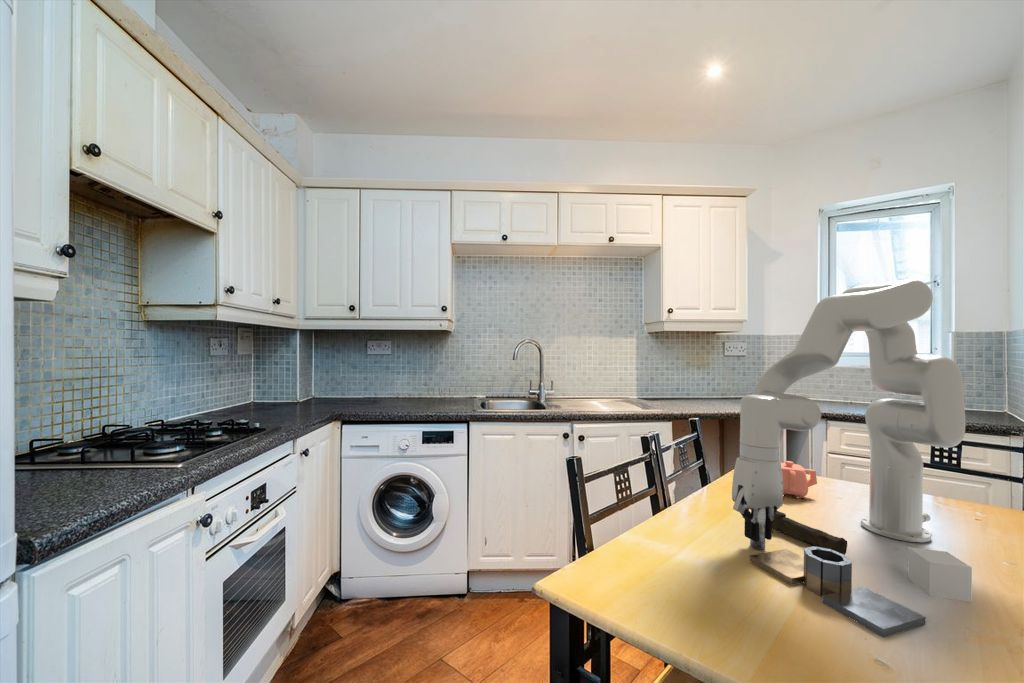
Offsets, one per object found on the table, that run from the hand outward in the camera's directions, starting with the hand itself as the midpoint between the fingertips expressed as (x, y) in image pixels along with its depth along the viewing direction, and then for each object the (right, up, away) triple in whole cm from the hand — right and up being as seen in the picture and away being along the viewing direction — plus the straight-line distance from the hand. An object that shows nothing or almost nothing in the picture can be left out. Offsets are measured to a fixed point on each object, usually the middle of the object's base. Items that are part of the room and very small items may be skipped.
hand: (757, 537), depth 93 cm
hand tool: (+12, -3, +5) cm, 13 cm away
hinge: (+3, -2, -16) cm, 16 cm away
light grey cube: (+24, -3, -15) cm, 29 cm away
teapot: (+30, -4, +37) cm, 47 cm away
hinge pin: (0, -2, 0) cm, 2 cm away
